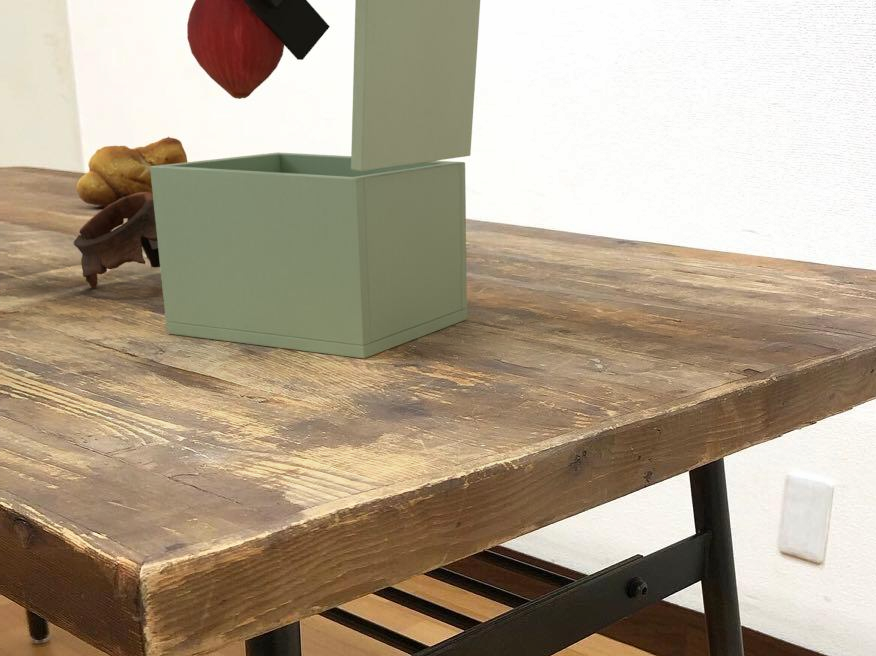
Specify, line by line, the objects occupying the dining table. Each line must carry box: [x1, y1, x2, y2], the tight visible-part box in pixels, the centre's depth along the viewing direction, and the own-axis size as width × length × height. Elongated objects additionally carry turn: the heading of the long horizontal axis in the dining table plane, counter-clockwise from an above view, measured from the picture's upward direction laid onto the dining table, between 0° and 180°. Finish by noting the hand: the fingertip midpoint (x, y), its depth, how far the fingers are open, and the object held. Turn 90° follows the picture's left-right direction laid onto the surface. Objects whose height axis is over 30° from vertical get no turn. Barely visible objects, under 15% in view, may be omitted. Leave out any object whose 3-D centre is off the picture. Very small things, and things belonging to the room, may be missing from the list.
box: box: [150, 152, 468, 359], centre depth 84 cm, size 16×14×11 cm
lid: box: [350, 0, 481, 171], centre depth 75 cm, size 16×14×1 cm
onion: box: [186, 0, 285, 100], centre depth 76 cm, size 6×6×8 cm
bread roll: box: [76, 136, 188, 207], centre depth 148 cm, size 13×10×8 cm
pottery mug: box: [73, 192, 160, 289], centre depth 99 cm, size 12×10×8 cm
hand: (292, 42), depth 78 cm, fingers closed on onion, 6 cm apart
